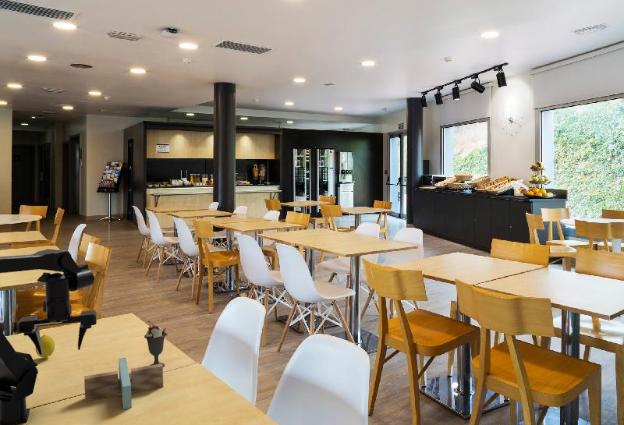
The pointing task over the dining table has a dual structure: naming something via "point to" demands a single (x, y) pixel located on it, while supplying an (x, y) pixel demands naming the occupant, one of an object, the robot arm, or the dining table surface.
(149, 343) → the sundae
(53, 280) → the robot arm
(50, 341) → the lemon
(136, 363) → the dining table surface
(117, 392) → the walnut slotted plate
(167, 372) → the dining table surface
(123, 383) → the teal slotted plate
